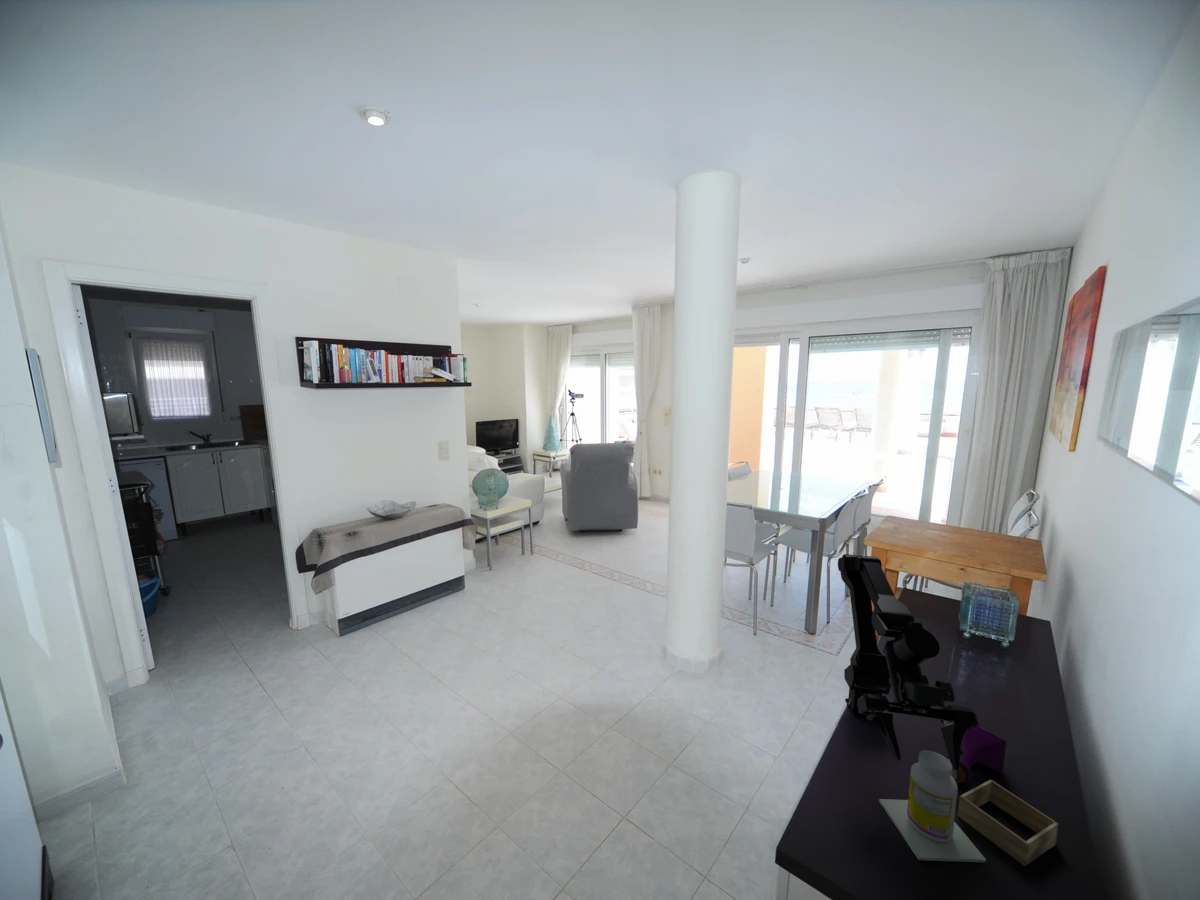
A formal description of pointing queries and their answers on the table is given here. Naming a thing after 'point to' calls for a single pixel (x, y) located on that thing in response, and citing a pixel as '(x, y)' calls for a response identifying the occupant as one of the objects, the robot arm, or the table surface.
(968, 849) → the sage mat
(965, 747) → the perfume bottle
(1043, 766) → the table surface
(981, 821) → the wooden box
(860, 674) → the robot arm
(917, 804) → the supplement bottle
